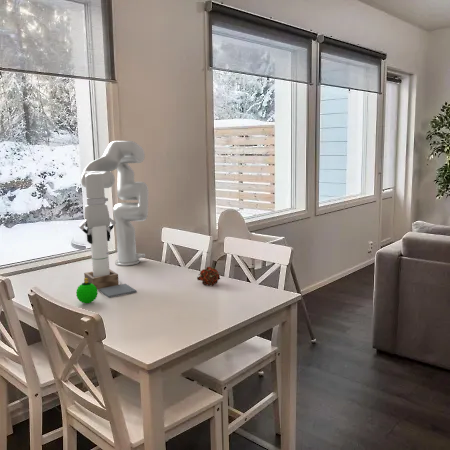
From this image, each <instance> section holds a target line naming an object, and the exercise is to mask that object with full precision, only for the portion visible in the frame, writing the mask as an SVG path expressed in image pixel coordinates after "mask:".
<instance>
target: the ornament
mask: <svg viewBox="0 0 450 450" xmlns="http://www.w3.org/2000/svg"><path fill="white" fill-rule="evenodd" d="M85 280H87V281H85ZM98 292H99V290H98V289H97V288H96V286H95V285H93V284H92V283H90V282H88V278H85V277H84V278H83V282H82V283H81V284H80V285H79V286H78V287H77V288H76V297H77V299H78V301H79V302H81V303H83V304H91V303H93V302H94V301H95V300H96V299H97V298H98Z"/></svg>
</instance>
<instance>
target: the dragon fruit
mask: <svg viewBox="0 0 450 450" xmlns="http://www.w3.org/2000/svg"><path fill="white" fill-rule="evenodd" d="M220 276H221V275H220V274H219V272H218V270H217V269H216V268H214V267H213V266H207V267H206V268H203V269H202V270H200V271H199V273H198V276H196V279H197V281H201V283H202V284H203V285H204V286H206V285H208V286H210V287H213V286H215V285H216V284H218V281H220V280H221V278H220Z"/></svg>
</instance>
